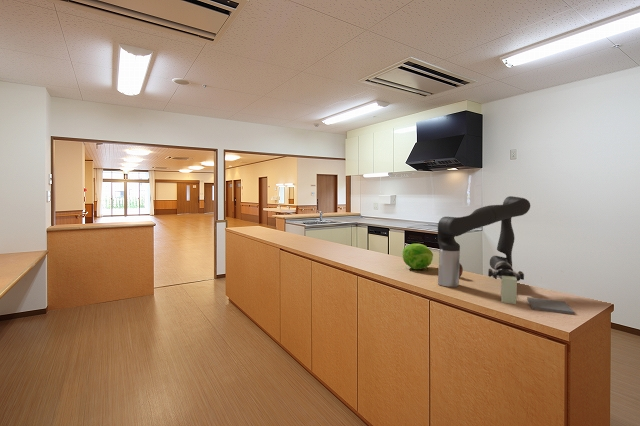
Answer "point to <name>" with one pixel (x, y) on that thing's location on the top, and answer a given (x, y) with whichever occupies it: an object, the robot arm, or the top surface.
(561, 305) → the charcoal mat
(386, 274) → the top surface
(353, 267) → the top surface
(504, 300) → the sage block
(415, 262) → the lettuce
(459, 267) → the tin
